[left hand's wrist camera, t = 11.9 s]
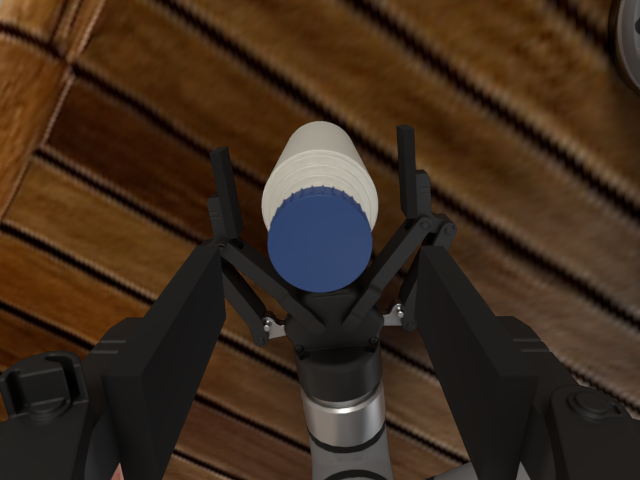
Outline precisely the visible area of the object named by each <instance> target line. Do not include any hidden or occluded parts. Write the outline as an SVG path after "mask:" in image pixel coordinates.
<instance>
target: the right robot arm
mask: <svg viewBox="0 0 640 480" xmlns="http://www.w3.org/2000/svg"><path fill="white" fill-rule="evenodd" d="M397 144H398V163H399V182H400V200H401V210H402V211H403V213H404V214H405V216H406V218H407V219H406V220H405V221H404V223H403V224H402V225H401V226H400V228H399V229H398V230H397V232H396V233H395V234H394V236H393V237H392V238H391V239H390V241H389V242H388V243H387V245H386V246H385V247H384V249H383V250H382V251H381V252H380V254H379V255H378V256H377V258H376V259H375V260H374V262H373V263H372V264H371V265H370V267H369V268H368V269H367V270H365V271H363V273H362V274H361V275H360V277H359V278H358V279H357V280H356V282H352V283H350V284H349V285H347V286H345V287H343V288H341V289H338V290H335V291H330V292H319V293H318V292H310V291H305V290H302V289H299V288H297V287H295V286H293V285H291V284H290V283H288V282H287V281H286V280H285V279H283V278H282V277H281V276H280V275H279V273H278V272H277V271H276V269H275V268H274V266H273V264H272V263H271V262H270V261H269V260H267V259H266V258H265V257H264V256H262V255H261V254H260V253H259V252H258V251H256V250H255V249H254V248H253V247H252V246H250V245H249V244H248V243H247V242H245V241H244V240H243V239H242V238H241V237H239V234H240V232H241V230H242V228H243V222H242V217H241V212H240V207H239V202H238V197H237V191H236V186H235V181H234V176H233V171H232V166H231V160H230V155H229V150H228V146H227V147H219V148H217V149H215V150H214V151H212V152H211V153H209V154H210V158H211V163H212V168H213V173H214V177H215V182H216V187H217V192H218V193H217V194H212V196H211V197H210V198H209V199H208V205H207V206H208V211H209V215H210V220H211V224H212V229H213V233H214V238H212V239H210V240H205V241H204V242H203V243H202V244H201V246H220V256H221V267H222V278H223V289H224V297H225V298H226V299H227V300H228V301H229V303H230V304H231V305H232V306H233V307H234V309H235V310H236V311H237V312H238V314H239V315H240V316H241V317H242V318H243V320H244V321H245V322H246V323H247V324H248V326H249V329H250V332H251V335H252V337H253V340H254V343H255V344H256V345H257V346H260V347H263V346H265V345H267V343H268V339H271V338H276V337H281V336H285V335H286V336H287V337H288V338H289V339H290V340H291V342H292V344H293V348H294V354H295V360H296V366H297V372H298V378H299V382H300V385H301V389H300V391H301V396H302V401H303V407H304V412H305V418H306V424H307V429H308V433H309V441H310V449H311V456H312V480H394V479H393V474H392V469H391V463H390V456H389V449H388V439H387V431H386V417H385V415H386V410H385V398H384V387H383V378H382V363H381V351H380V338H379V335H380V331H381V329H382V327H383V326H402V327H403V329H404V330H405V331H406V332H412V331H414V330H415V329H416V327H417V324H416V321H415V319H414V311H415V300H416V289H417V278H418V267H419V256H420V248H419V250H418V252H417V255H416V257H415V259H414V261H413V263H412V265H411V267H410V269H409V271H408V273H407V276H406V278H405V280H404V282H403V284H402V286H401V289H400V292H399V297H398V298H394V299H393V301H392V302H391V304H390V306H389V308H387V309H386V310H382V309H381V308H380V306H379V305H378V304H377V303H376V302H377V300H378V299H379V298H380V296H381V294H382V291H383V289H384V288H385V286H386V285H387V284H388V283H389V281H390V280H391V279H392V278H393V276H394V275H395V274H396V273H397V271H398V270H399V269H400V268H401V266H402V265H403V264H404V262H405V261H406V260H407V259H408V257H409V256H410V255H411V254H412V252H413V251H414V250H415V249H416V247H417V246H418V245H419V244H420V242H421V241H422V240H423V239H424V240H423V242H422V244H421V246H444V247H445V249H446V250H448V248H449V246H450V244H451V242H452V240H453V238H454V236H455V234H456V232H457V227H456V226H455V224H454V223H453V222H452V221H451V220H450V219H449V218H448V217H447V216H446V215H445V214H436V213H432V212H431V193H430V192H431V191H430V178H429V176H428V174H427V173H426V172H425V171H424V170H423V169H422V170H416V165H415V140H414V128H412V127H410V126H408V125H400V126H397ZM424 237H425V238H424ZM233 265H234V266H235V267H236V268H237V269H239V270H240V271H241V272H242V273H244V274H245V275H246V276H247V277H249V278H250V279H251V280H252V281H254V282H255V283H256V284H257V285H259V286H260V287H261V288H262V289H264V290H265V291H266V292H267V293H269V294H270V295H271V296H272V297H274V298H275V299H276V300H277V301H278V302H279V304H280V306H281V307H282V308H283V309H284V310H286V311H287V312H288V314H287V316H286V318H285V320H279V319H278V318H276V316H275V315H274V314H273V312H272V311H268V312H267V310H266V308H265V306H264V304H263V303H262V301H261V300H260V299H259V297H258V296H257V295H256V294H255V292H254V291H253V290H252V289H251V287H250V286H249V285H248V284H247V282H246V281H245V280H244V279H243V277H242V276H241V275H240V274H239V272H238V271H237V270H236V269H235V267H234V266H233ZM424 480H478V478H477V475H476V473H475V470H474V468H473V465H472V463H471V462H469V463H466V464H464V465H462V466H459V467H457V468H454V469H452V470H449V471H447V472H445V473H442V474H440V475H437V476H432V477H430V478H428V479H424ZM516 480H530V478H529V476H528V474H527V473H526V471H525V469H524V467H523V465H522V463H521V461H520V465H519V470H518V474H517V479H516Z"/></svg>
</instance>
